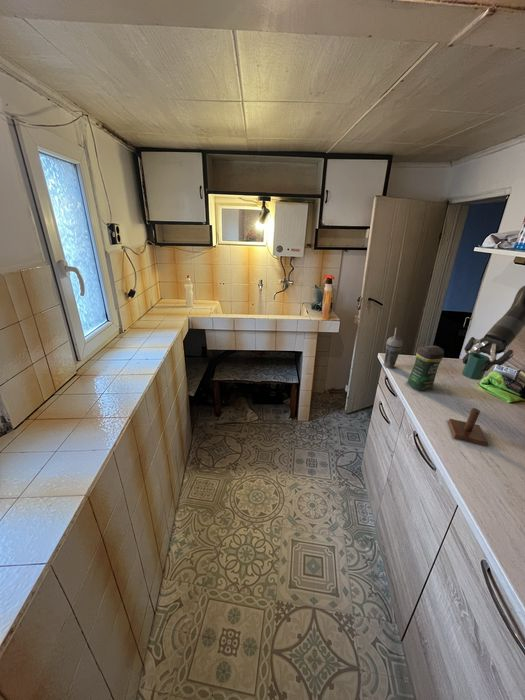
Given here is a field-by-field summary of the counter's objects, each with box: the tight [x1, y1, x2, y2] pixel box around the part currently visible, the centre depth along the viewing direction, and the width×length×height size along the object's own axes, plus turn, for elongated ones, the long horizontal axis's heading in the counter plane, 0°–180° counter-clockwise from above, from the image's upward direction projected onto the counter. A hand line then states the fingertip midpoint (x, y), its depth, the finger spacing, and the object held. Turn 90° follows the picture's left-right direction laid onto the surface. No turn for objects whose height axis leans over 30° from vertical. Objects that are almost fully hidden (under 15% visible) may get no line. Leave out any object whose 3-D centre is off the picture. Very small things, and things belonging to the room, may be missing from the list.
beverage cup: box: [383, 327, 404, 369], centre depth 133 cm, size 7×7×20 cm
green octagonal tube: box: [462, 353, 490, 381], centre depth 102 cm, size 6×6×8 cm
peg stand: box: [448, 407, 489, 447], centre depth 92 cm, size 9×9×10 cm
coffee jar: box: [407, 345, 445, 391], centre depth 117 cm, size 10×8×19 cm
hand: (473, 366), depth 101 cm, fingers closed on green octagonal tube, 6 cm apart
